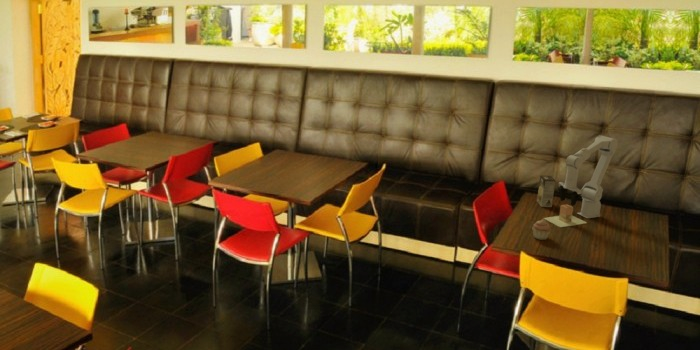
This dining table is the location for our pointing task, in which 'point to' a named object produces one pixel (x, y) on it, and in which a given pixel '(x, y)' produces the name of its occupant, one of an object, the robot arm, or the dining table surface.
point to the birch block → (565, 217)
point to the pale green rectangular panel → (560, 223)
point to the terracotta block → (566, 209)
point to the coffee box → (546, 191)
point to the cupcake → (541, 230)
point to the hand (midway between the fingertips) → (567, 202)
